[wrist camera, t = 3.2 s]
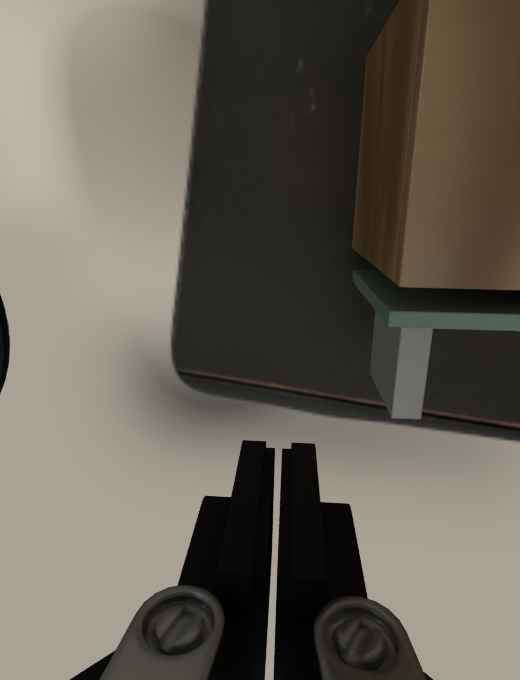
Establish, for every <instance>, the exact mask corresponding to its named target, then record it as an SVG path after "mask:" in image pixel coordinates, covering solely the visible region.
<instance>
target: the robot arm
mask: <svg viewBox="0 0 520 680" xmlns="http://www.w3.org/2000/svg"><path fill="white" fill-rule="evenodd" d="M274 461H275V448H266V441H246V440H243V442H242V446H241V451H240V456H239V461H238V466H237V471H236V476H235V481H234V486H233V491H232V496H231V497H217V496H205V497H204V498H203V501H202V504H201V507H200V511H199V514H198V518H197V521H196V524H195V528H194V531H193V535H192V538H191V542H190V546H189V548H188V552H187V555H186V559H185V562H184V566H183V569H182V572H181V576H180V579H179V583H178V586H173V587H169V588H166V589H164V590H162V591H160V592H157V593H155V594H154V595H153V596H151V597H150V598H149V599H148V600H146V601H145V602H144V603H143V605H142V606H141V607H140V609H139V610H138V611H137V613H136V614H135V616H134V618H133V620H132V622H131V623H130V625H129V627H128V629H127V631H126V633H125V634H124V636H123V638H122V640H121V642H120V643H119V645H118V647H117V649H116V650H115V651H114V652H112V653H111V654H109V655H107V656H106V657H104V658H103V659H101V660H100V661H98V662H97V663H95V664H93V665H92V666H90V667H89V668H87V669H86V670H84V671H83V672H81V673H79V674H78V675H76V676H75V677H73V678H72V679H70V680H265V662H266V645H267V629H268V610H269V594H270V577H271V558H272V531H273V528H272V527H273V497H274ZM280 495H281V496H280V518H279V544H278V568H277V597H276V626H275V655H274V680H433V679H432V678H431V677H429V676H428V675H427V674H426V673H424V672H423V670H422V667H421V665H420V663H419V660H418V658H417V656H416V654H415V651H414V649H413V646H412V644H411V642H410V639H409V637H408V634H407V632H406V630H405V629H404V627H403V625H402V624H401V622H400V620H399V619H398V618H397V617H396V616H395V615H394V614H393V613H392V612H391V611H390V610H389V609H387V608H386V607H384V606H382V605H380V604H379V603H377V602H376V601H373V600H370V599H368V598H367V592H366V587H365V582H364V576H363V571H362V565H361V560H360V555H359V549H358V544H357V538H356V533H355V528H354V522H353V517H352V512H351V508H350V505H349V504H343V503H325V502H320V494H319V482H318V471H317V460H316V448H315V444H308V443H292V445H291V449H282V469H281V493H280Z"/></svg>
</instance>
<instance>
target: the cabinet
mask: <svg viewBox="0 0 520 680" xmlns="http://www.w3.org/2000/svg"><path fill="white" fill-rule="evenodd" d="M352 249H353V250H355V251H356V252H357V253H359V254H360V255H361V256H362V257H364V258H365V259H366V260H367V261H368V262H370V263H371V264H372V265H373V266H375V267H376V268H377V269H378V270H379V271H381V272H382V273H383V274H384V275H386V276H387V277H388V278H389V279H391V280H392V281H393V282H394V283H395V284H396V285H398V286H399V287H406V288H445V289H485V290H520V0H399V2H398V4H397V5H396V7H395V9H394V11H393V12H392V14H391V16H390V17H389V19H388V21H387V22H386V24H385V26H384V27H383V29H382V31H381V32H380V34H379V36H378V37H377V39H376V41H375V42H374V44H373V46H372V47H371V49H370V51H369V52H368V54H367V55H366V64H365V78H364V91H363V105H362V118H361V132H360V145H359V158H358V172H357V185H356V199H355V212H354V226H353V239H352Z"/></svg>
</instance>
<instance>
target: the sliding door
mask: <svg viewBox="0 0 520 680" xmlns="http://www.w3.org/2000/svg"><path fill="white" fill-rule="evenodd" d="M352 281H353V282H354V283H355V285H356V286H357V287H358V289H359V290H360V291H361V292H362V294H363V295H364V296H365V298H366V299H367V300H368V301H369V303H370V304H371V305H372V307H373V308H374V309H375V321H374V332H373V343H372V354H371V364H370V374H371V376H372V378H373V380H374V382H375V384H376V386H377V389H378V391H379V393H380V395H381V397H382V399H383V401H384V403H385V405H386V408H387V410H388V412H389V414H390V416H391V418H403V419H421V416H422V408H423V401H424V393H425V386H426V378H427V371H428V363H429V355H430V348H431V340H432V333H433V329H467V330H502V331H520V290H485V289H445V288H406V287H399V286H398V285H396V284H395V283H394V282H393V281H392V280H391V279H389V278H388V277H387V276H386V275H384V274H383V273H382V272H381V271H379V270H353V278H352Z"/></svg>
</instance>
